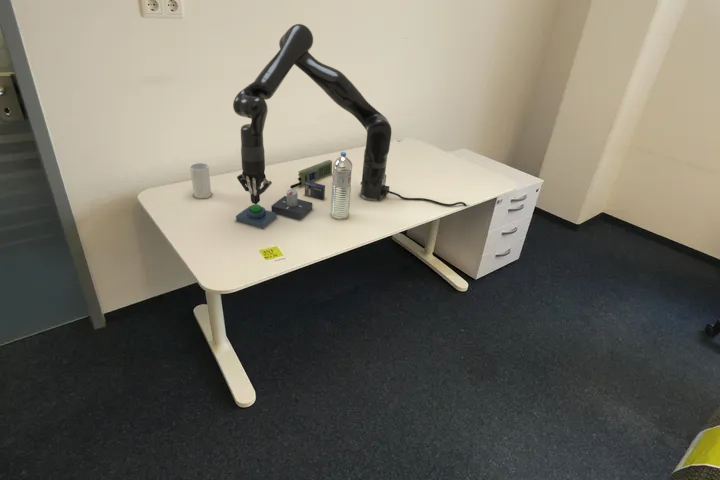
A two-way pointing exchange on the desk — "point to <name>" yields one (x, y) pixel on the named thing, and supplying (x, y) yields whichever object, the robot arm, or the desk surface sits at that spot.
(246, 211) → the housing
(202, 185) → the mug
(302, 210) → the dial panel
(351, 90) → the robot arm
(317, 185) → the mini dv tape
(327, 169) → the handheld radio
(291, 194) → the program dial
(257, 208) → the button
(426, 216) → the desk surface
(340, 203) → the water bottle
